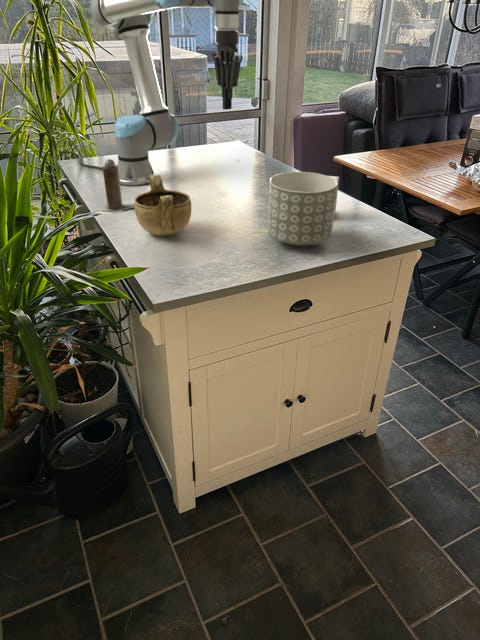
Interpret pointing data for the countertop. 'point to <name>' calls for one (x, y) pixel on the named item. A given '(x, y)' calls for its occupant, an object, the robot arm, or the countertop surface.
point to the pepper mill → (112, 185)
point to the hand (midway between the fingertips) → (227, 108)
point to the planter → (301, 208)
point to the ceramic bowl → (162, 209)
